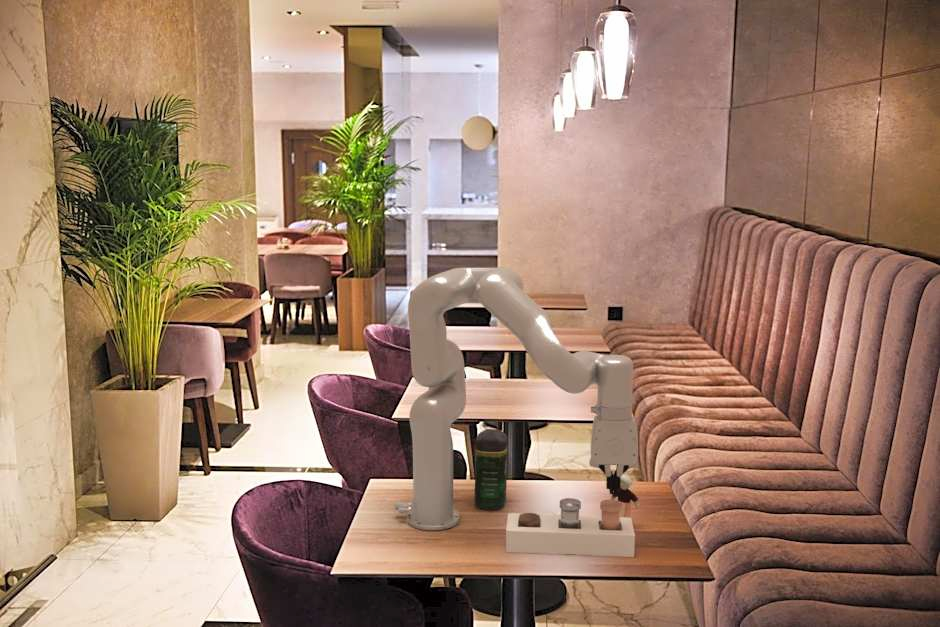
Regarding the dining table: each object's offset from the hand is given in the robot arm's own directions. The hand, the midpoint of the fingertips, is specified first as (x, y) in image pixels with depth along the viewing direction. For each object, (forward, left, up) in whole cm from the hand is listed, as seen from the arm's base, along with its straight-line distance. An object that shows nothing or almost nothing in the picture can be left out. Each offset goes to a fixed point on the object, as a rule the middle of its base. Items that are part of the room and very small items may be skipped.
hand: (613, 491), depth 213 cm
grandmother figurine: (+4, +12, -13) cm, 18 cm away
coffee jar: (-28, +23, -13) cm, 39 cm away
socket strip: (-9, 0, -13) cm, 16 cm away
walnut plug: (-18, 0, -13) cm, 22 cm away
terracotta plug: (0, 0, -9) cm, 9 cm away
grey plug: (-9, 0, -9) cm, 13 cm away
